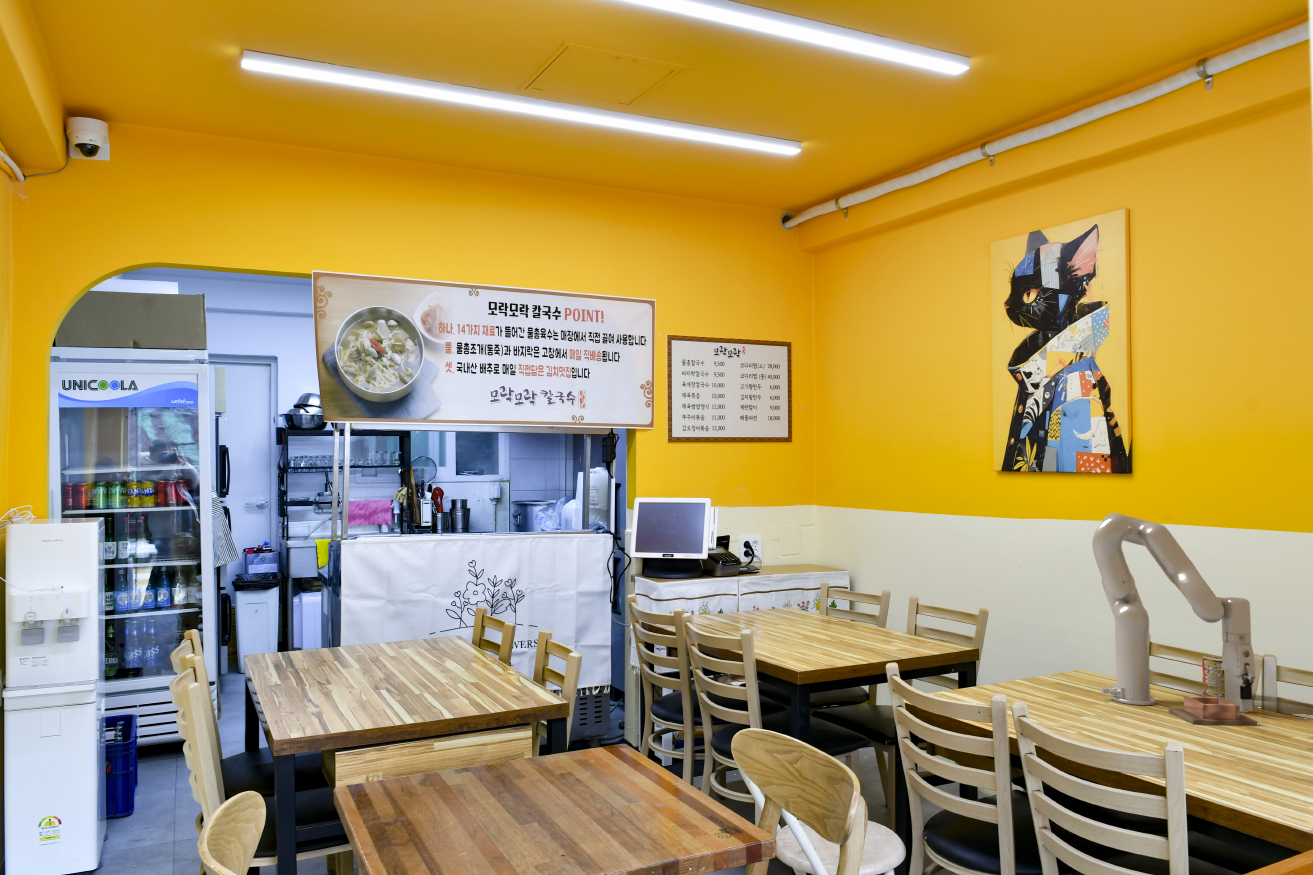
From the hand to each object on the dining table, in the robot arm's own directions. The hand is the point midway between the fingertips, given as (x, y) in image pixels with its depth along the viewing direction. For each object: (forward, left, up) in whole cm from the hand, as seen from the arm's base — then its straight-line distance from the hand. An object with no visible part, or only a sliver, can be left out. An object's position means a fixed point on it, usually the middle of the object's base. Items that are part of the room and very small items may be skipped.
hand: (1238, 695), depth 279 cm
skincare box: (0, 0, -5) cm, 5 cm away
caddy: (-14, -11, -4) cm, 18 cm away
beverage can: (+5, +20, -5) cm, 21 cm away
